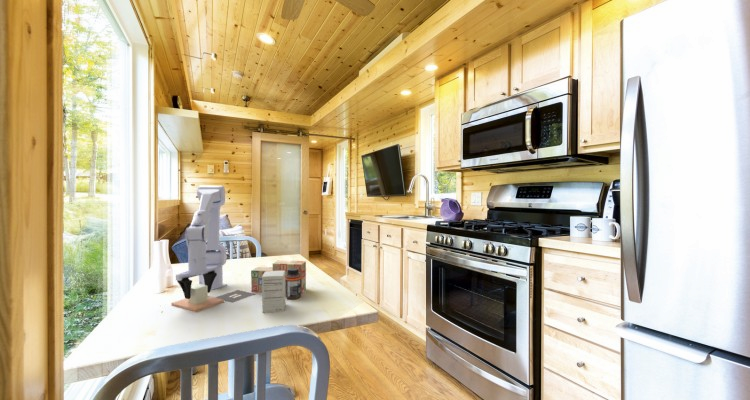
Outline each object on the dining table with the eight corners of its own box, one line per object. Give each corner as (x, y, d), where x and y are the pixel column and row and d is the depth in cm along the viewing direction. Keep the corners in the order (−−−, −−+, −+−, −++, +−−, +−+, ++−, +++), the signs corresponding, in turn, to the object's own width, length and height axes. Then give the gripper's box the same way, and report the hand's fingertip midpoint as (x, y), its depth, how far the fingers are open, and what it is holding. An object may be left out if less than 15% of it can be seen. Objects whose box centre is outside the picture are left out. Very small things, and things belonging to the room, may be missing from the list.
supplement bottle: (287, 294, 125) (287, 266, 125) (302, 294, 126) (302, 266, 125) (284, 300, 119) (283, 270, 119) (299, 299, 120) (299, 270, 119)
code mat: (213, 298, 121) (213, 297, 121) (237, 290, 131) (237, 289, 131) (232, 303, 116) (232, 302, 116) (256, 294, 126) (256, 293, 126)
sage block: (188, 302, 114) (188, 287, 114) (200, 298, 118) (199, 284, 118) (195, 304, 112) (195, 289, 112) (207, 300, 116) (207, 285, 116)
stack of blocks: (250, 292, 128) (250, 263, 128) (257, 288, 135) (257, 259, 134) (301, 294, 127) (301, 263, 126) (306, 289, 133) (306, 260, 133)
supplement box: (265, 305, 114) (264, 271, 114) (286, 303, 115) (285, 270, 115) (261, 313, 107) (261, 276, 106) (284, 311, 108) (283, 275, 108)
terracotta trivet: (171, 305, 113) (171, 302, 113) (200, 296, 123) (200, 294, 123) (195, 312, 107) (195, 309, 107) (223, 302, 117) (223, 299, 117)
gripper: (184, 263, 106) (184, 303, 107) (222, 255, 119) (222, 291, 120) (172, 261, 110) (172, 299, 110) (210, 254, 122) (210, 288, 123)
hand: (197, 295), depth 115 cm, fingers open, 7 cm apart
